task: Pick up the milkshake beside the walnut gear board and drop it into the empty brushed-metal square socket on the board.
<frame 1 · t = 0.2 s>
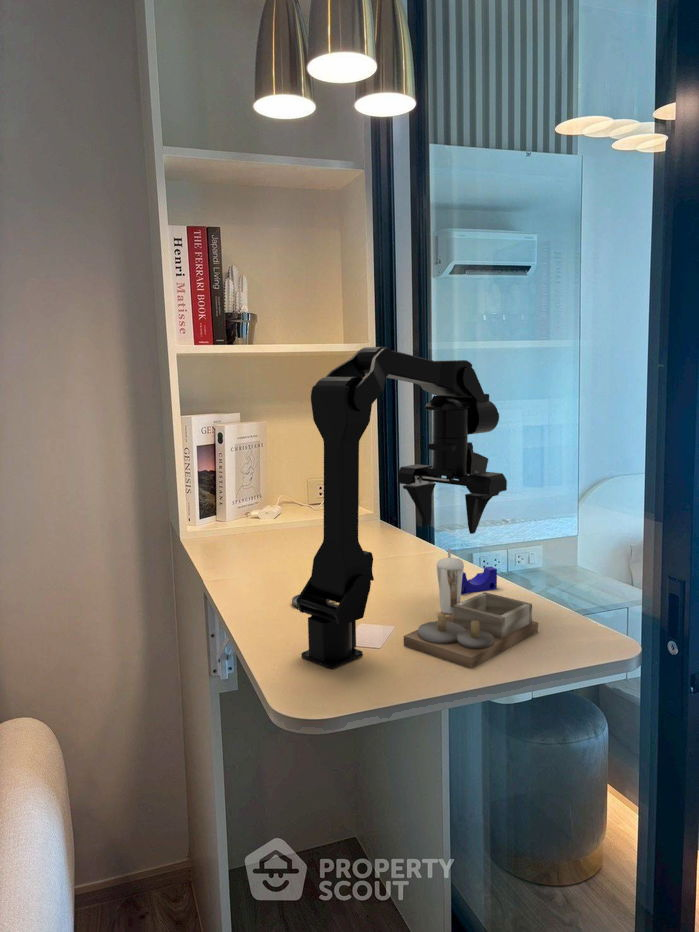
hand: (449, 529, 119), 14 cm above the worktop, fingers open, 9 cm apart
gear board: (472, 638, 108), on the worktop
milkshake: (449, 611, 120), on the worktop
cable holder: (472, 591, 131), on the worktop
pocket watch: (317, 605, 124), on the worktop
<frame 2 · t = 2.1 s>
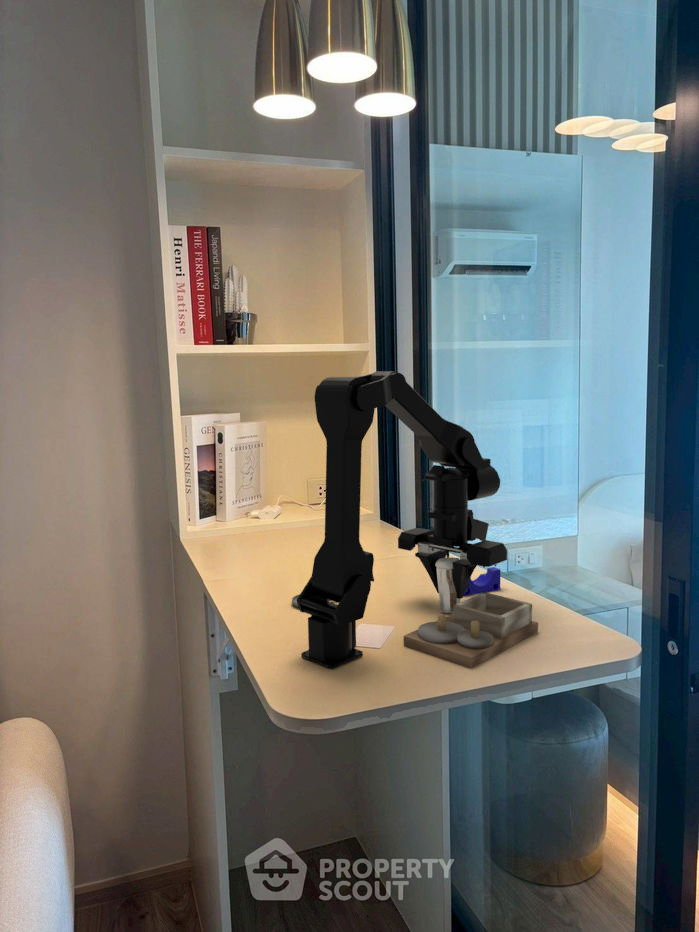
hand: (450, 595, 120), 3 cm above the worktop, fingers closed on milkshake, 4 cm apart
milkshake: (449, 610, 120), on the worktop, touching gripper
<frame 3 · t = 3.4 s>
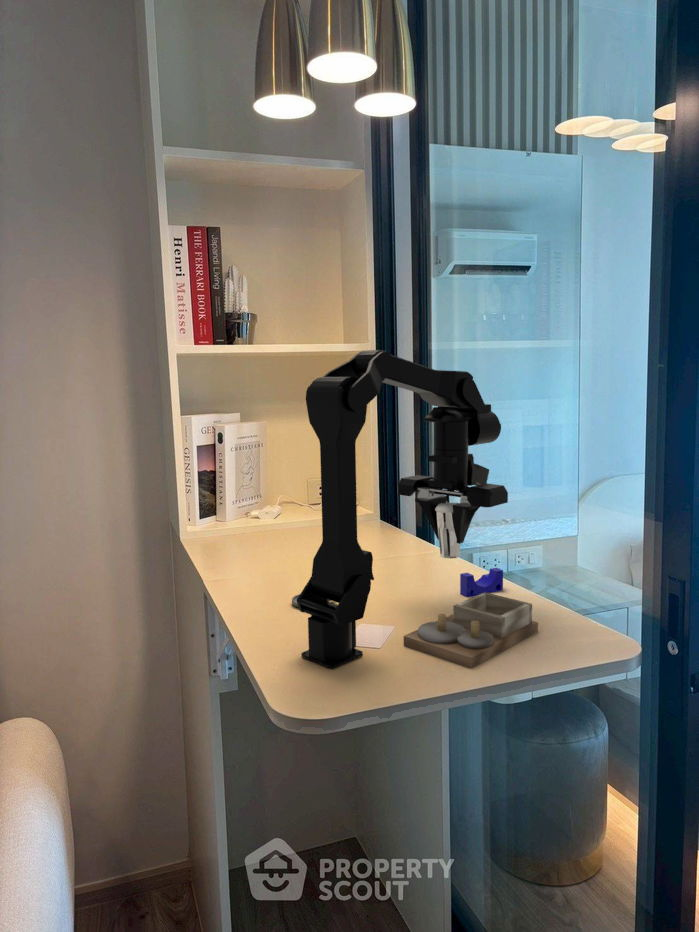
hand: (450, 541, 118), 12 cm above the worktop, fingers closed on milkshake, 4 cm apart
milkshake: (449, 556, 119), point 9 cm above the worktop, touching gripper
when the fingers open (6 cm above the worktop, at t = 5.8 s): milkshake drops 2 cm, resting on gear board.
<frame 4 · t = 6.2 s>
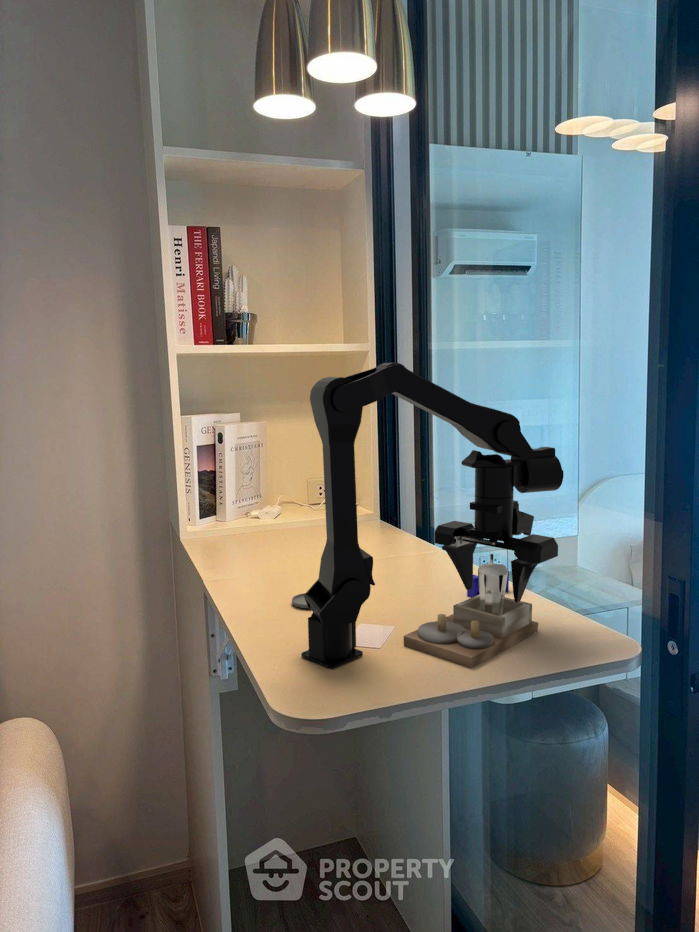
hand: (492, 595, 109), 6 cm above the worktop, fingers open, 8 cm apart
milkshake: (490, 622, 110), point 2 cm above the worktop, touching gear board
cable holder: (485, 594, 129), on the worktop
everything else where it was.
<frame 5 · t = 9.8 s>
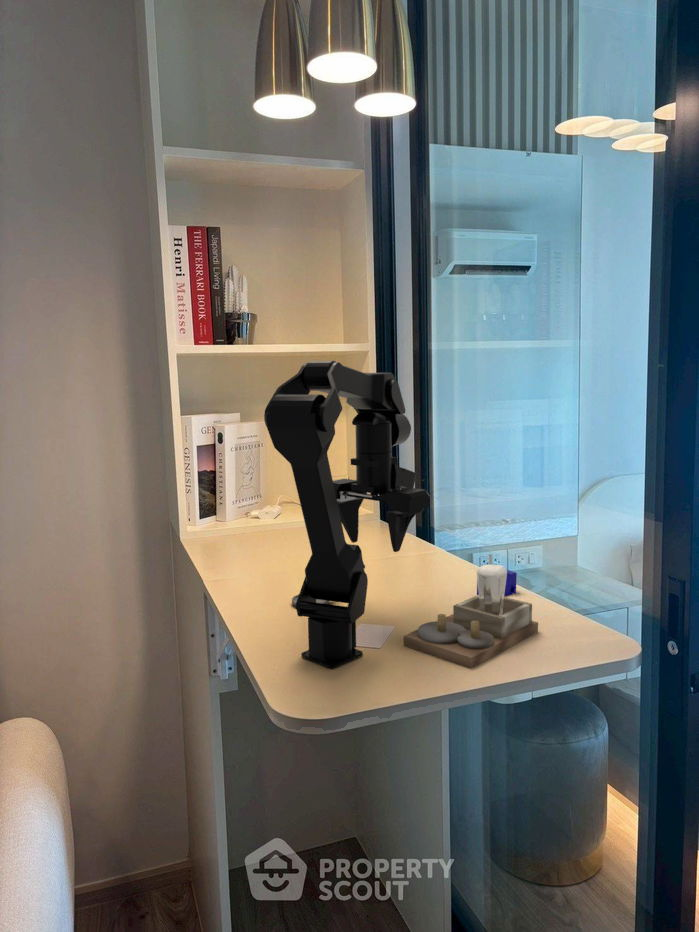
hand: (374, 546, 115), 12 cm above the worktop, fingers open, 9 cm apart
cable holder: (493, 596, 128), on the worktop
everything else where it was.
at the end: milkshake 0.3 cm from the target spot on the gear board, point 1.5 cm above the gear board's base; milkshake tilted 0°; the gripper is holding nothing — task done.
